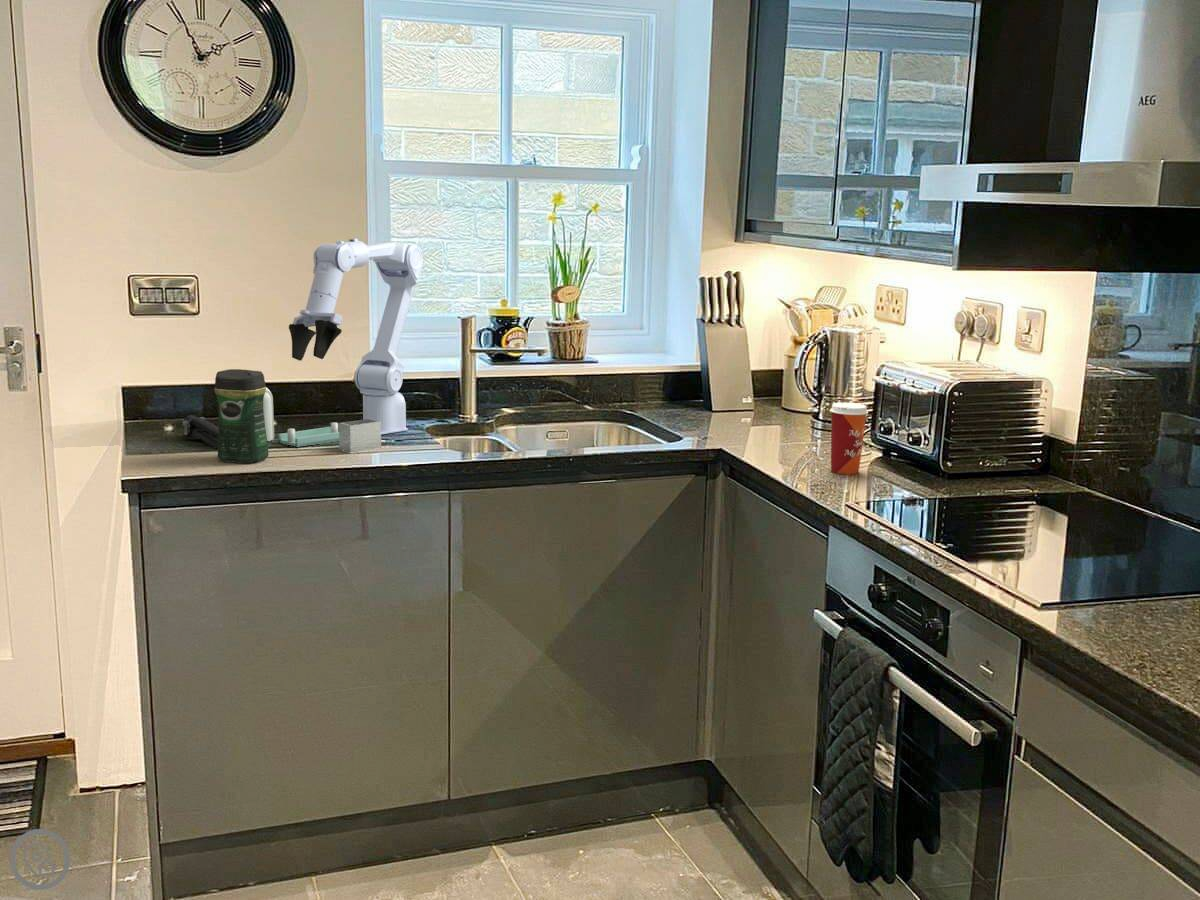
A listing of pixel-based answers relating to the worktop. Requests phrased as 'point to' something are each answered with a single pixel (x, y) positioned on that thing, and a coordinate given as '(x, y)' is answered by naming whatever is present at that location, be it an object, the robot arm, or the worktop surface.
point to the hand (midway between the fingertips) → (307, 358)
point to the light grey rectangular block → (359, 435)
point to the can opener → (200, 430)
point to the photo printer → (268, 414)
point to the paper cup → (847, 437)
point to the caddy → (310, 436)
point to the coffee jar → (241, 415)
